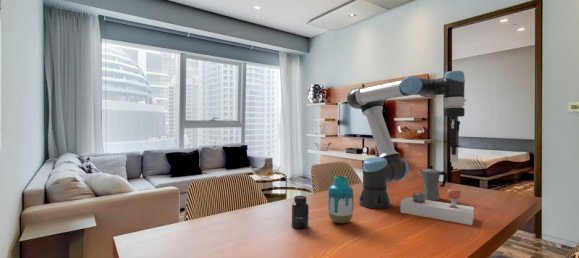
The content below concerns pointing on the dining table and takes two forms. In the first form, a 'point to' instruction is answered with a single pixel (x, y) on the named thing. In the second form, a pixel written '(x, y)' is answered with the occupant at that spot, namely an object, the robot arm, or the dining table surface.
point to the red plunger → (454, 196)
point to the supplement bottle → (300, 213)
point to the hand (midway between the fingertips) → (454, 162)
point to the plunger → (419, 197)
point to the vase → (340, 200)
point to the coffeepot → (432, 183)
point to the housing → (438, 210)
